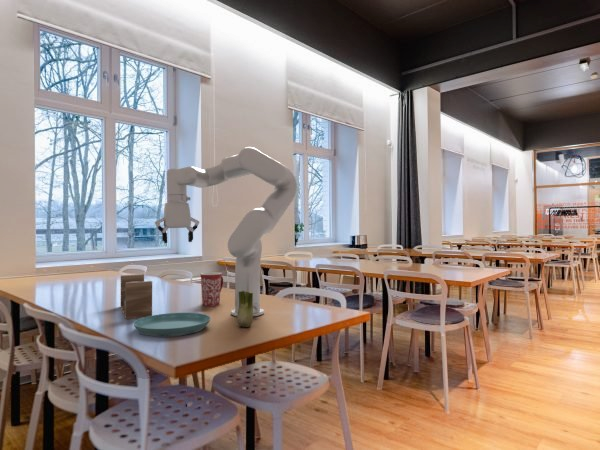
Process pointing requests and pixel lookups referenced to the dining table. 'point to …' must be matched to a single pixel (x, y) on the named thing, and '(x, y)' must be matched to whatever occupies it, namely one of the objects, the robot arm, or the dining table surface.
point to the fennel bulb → (245, 309)
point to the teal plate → (172, 324)
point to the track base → (136, 296)
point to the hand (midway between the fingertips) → (178, 242)
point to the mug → (211, 288)
